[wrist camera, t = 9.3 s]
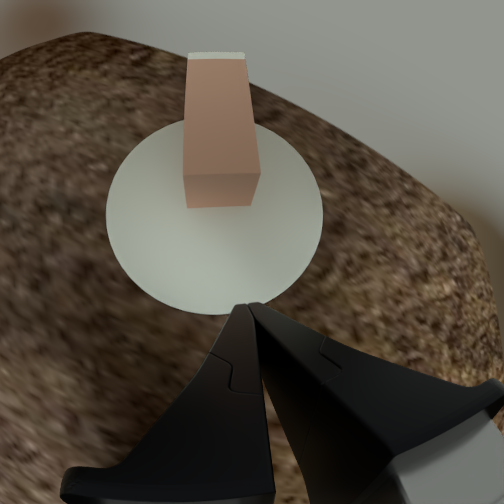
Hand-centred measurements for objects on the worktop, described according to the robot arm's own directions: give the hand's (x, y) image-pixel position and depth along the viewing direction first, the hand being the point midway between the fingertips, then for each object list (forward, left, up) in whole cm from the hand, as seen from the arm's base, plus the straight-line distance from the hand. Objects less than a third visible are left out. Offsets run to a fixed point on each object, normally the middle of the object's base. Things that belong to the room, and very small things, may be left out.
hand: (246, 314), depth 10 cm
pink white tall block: (+5, -6, -7) cm, 11 cm away
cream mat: (+6, -7, -10) cm, 13 cm away
